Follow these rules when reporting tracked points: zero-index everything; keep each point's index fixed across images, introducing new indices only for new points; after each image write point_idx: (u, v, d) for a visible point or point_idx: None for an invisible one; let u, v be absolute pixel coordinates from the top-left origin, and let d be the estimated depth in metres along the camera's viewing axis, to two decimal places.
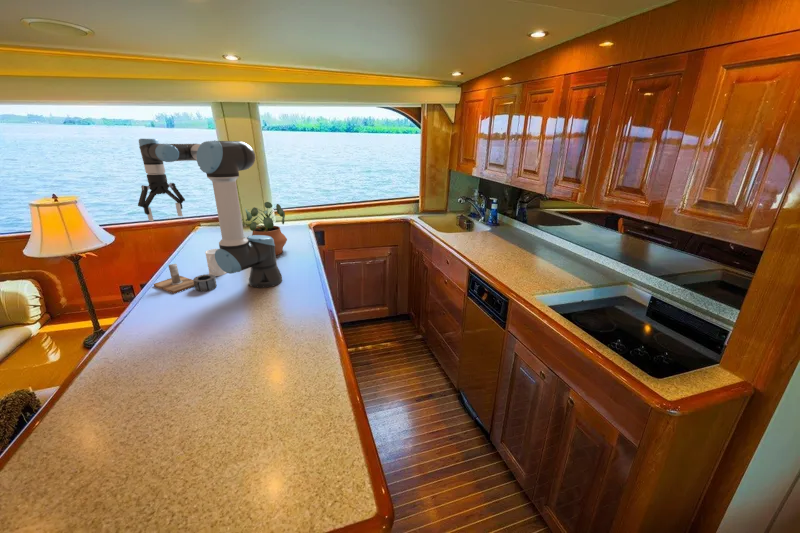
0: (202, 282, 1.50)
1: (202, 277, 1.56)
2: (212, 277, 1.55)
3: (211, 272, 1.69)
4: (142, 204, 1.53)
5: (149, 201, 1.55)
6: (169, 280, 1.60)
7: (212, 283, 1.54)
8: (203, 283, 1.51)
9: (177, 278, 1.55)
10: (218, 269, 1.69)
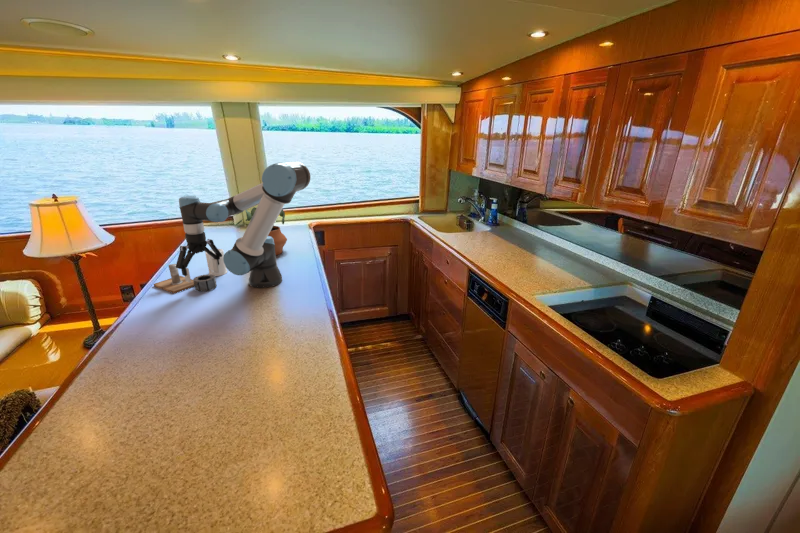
0: (202, 282, 1.50)
1: (202, 277, 1.56)
2: (212, 277, 1.55)
3: (211, 272, 1.69)
4: (180, 266, 1.43)
5: (187, 262, 1.45)
6: (169, 280, 1.60)
7: (212, 283, 1.54)
8: (203, 283, 1.51)
9: (177, 278, 1.55)
10: None
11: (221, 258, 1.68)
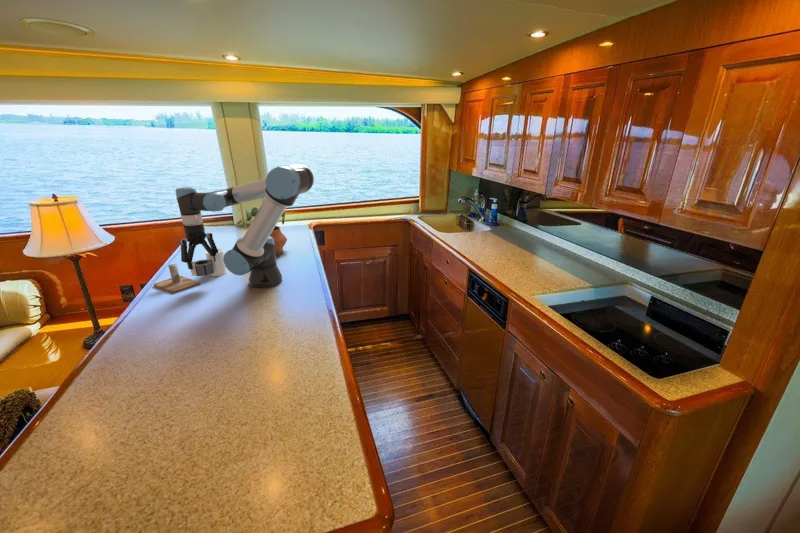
0: (200, 266, 1.48)
1: (200, 262, 1.53)
2: (210, 262, 1.52)
3: None
4: (186, 260, 1.43)
5: (191, 255, 1.45)
6: (169, 280, 1.60)
7: (210, 268, 1.51)
8: (201, 267, 1.48)
9: (177, 278, 1.55)
10: (218, 269, 1.69)
11: (221, 258, 1.68)
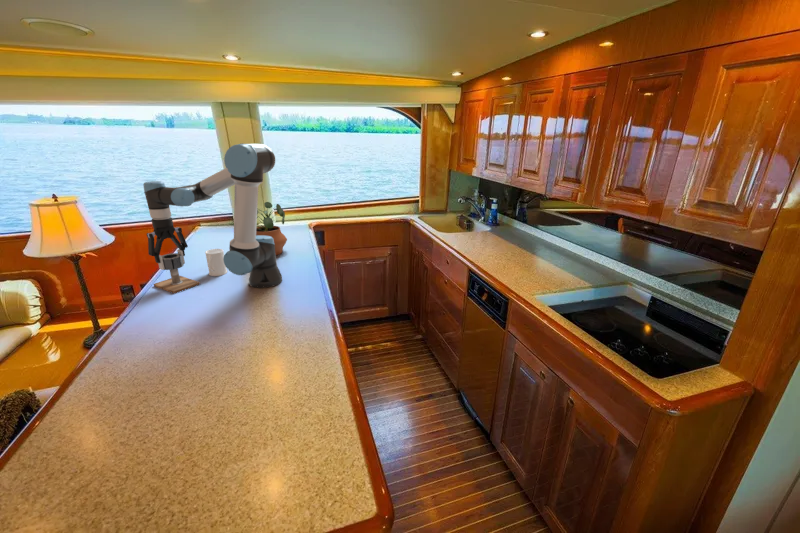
0: (167, 260, 1.49)
1: (168, 256, 1.54)
2: (178, 256, 1.53)
3: (211, 272, 1.69)
4: (153, 253, 1.45)
5: (159, 249, 1.46)
6: (169, 280, 1.60)
7: (178, 262, 1.52)
8: (169, 261, 1.49)
9: (177, 278, 1.55)
10: (218, 269, 1.69)
11: (221, 258, 1.68)
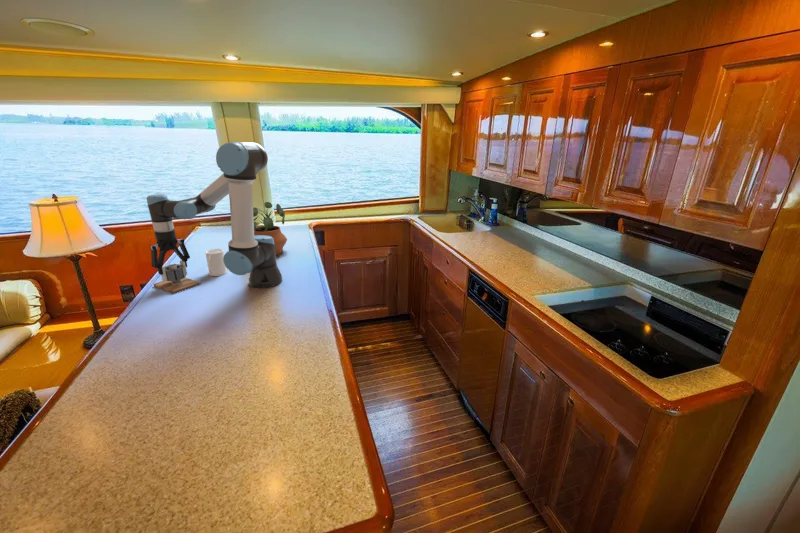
0: (170, 272, 1.51)
1: None
2: (181, 267, 1.55)
3: (211, 272, 1.69)
4: (156, 265, 1.47)
5: (161, 261, 1.48)
6: None
7: (181, 273, 1.54)
8: (171, 273, 1.51)
9: None
10: (218, 269, 1.69)
11: (221, 258, 1.68)
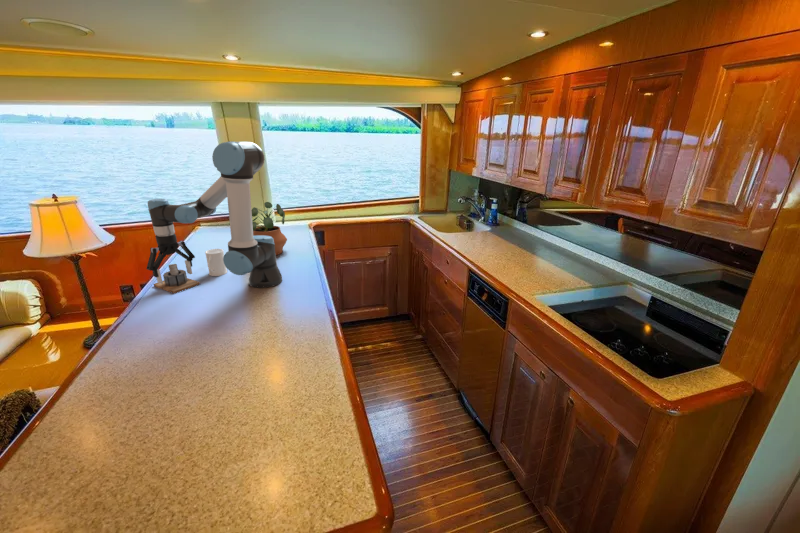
0: (172, 277, 1.52)
1: None
2: (182, 272, 1.56)
3: (211, 272, 1.69)
4: (151, 268, 1.45)
5: (158, 263, 1.47)
6: None
7: (182, 278, 1.55)
8: (173, 278, 1.52)
9: None
10: (218, 269, 1.69)
11: (221, 258, 1.68)
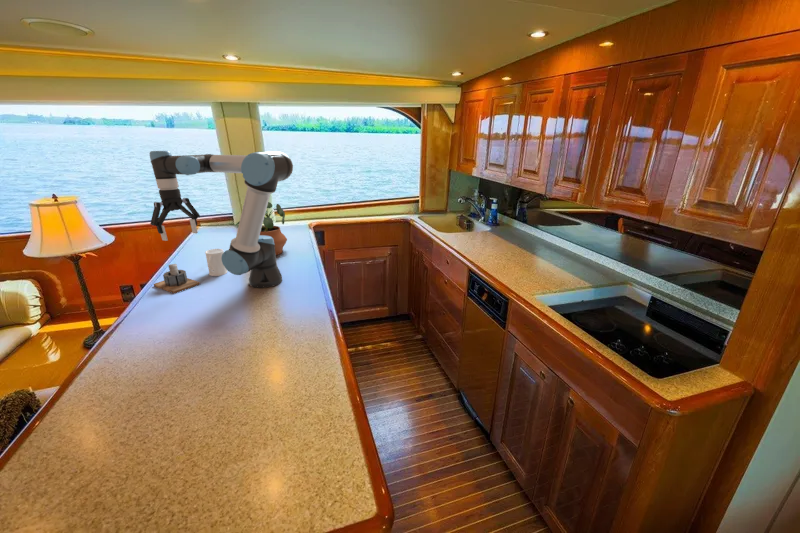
0: (172, 277, 1.52)
1: None
2: (182, 272, 1.56)
3: (211, 272, 1.69)
4: (155, 222, 1.39)
5: (162, 219, 1.42)
6: None
7: (182, 278, 1.55)
8: (173, 278, 1.52)
9: None
10: (218, 269, 1.69)
11: (221, 258, 1.68)
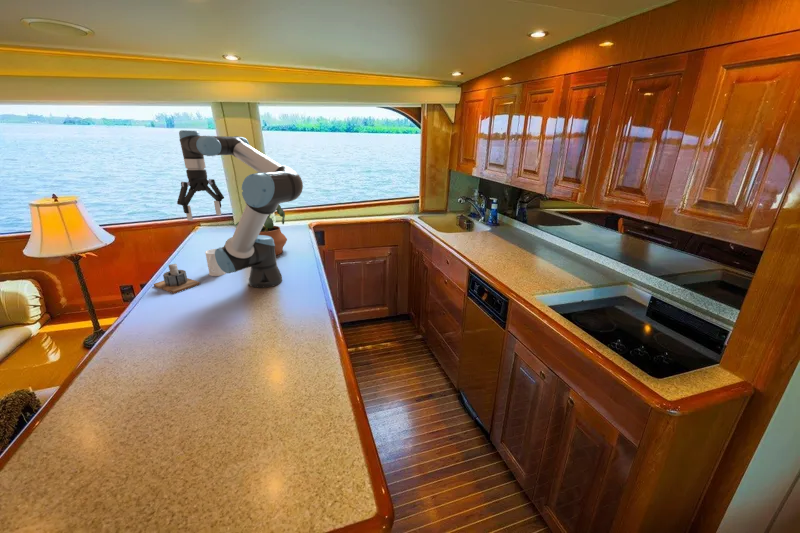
0: (172, 277, 1.52)
1: None
2: (182, 272, 1.56)
3: (211, 272, 1.69)
4: (182, 202, 1.40)
5: (189, 199, 1.42)
6: None
7: (182, 278, 1.55)
8: (173, 278, 1.52)
9: None
10: (218, 269, 1.69)
11: None
